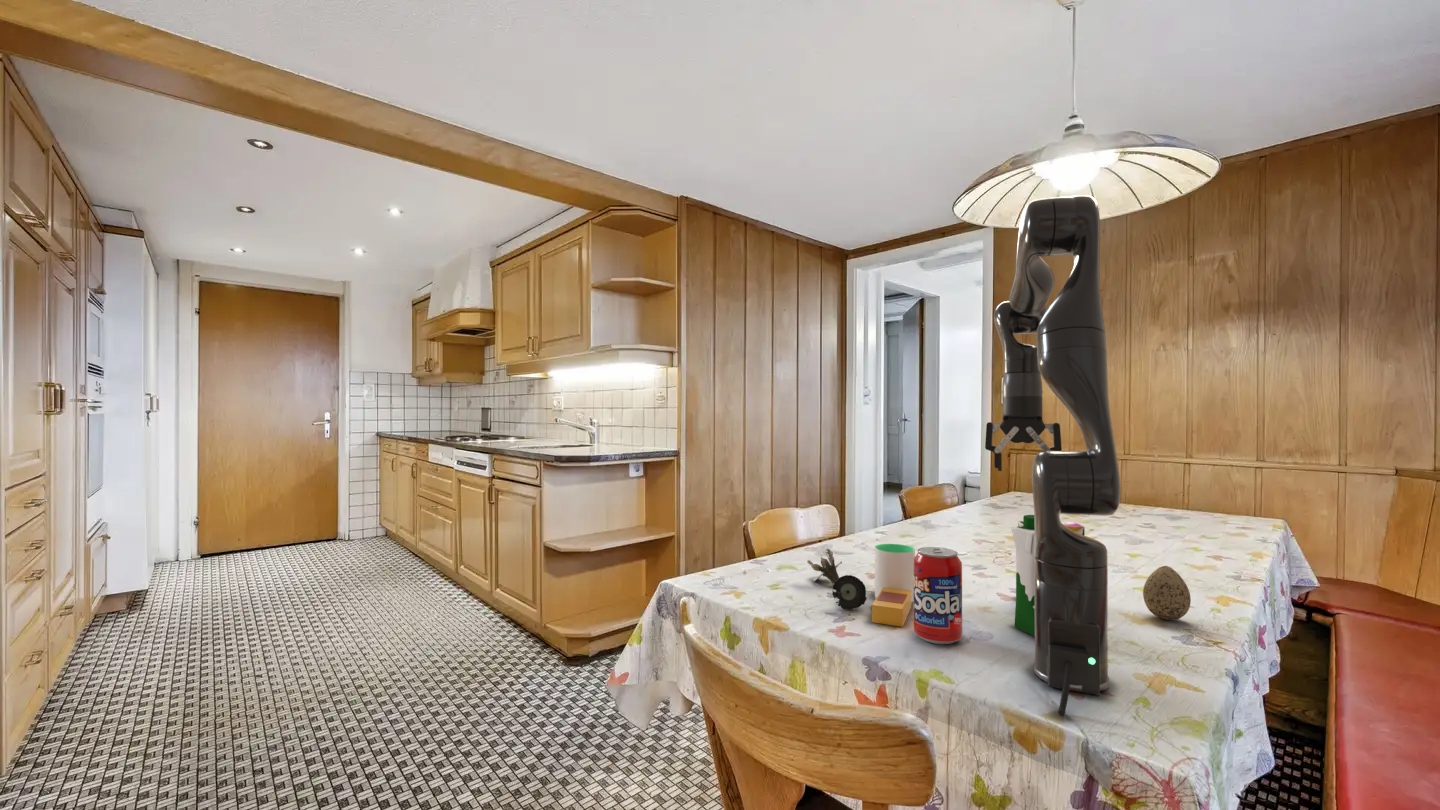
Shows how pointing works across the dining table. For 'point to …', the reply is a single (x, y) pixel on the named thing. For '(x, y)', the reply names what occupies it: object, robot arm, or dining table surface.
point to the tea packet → (891, 606)
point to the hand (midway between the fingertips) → (1022, 471)
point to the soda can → (938, 595)
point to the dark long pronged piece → (841, 584)
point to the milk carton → (1025, 575)
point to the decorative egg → (1166, 594)
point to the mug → (894, 568)
